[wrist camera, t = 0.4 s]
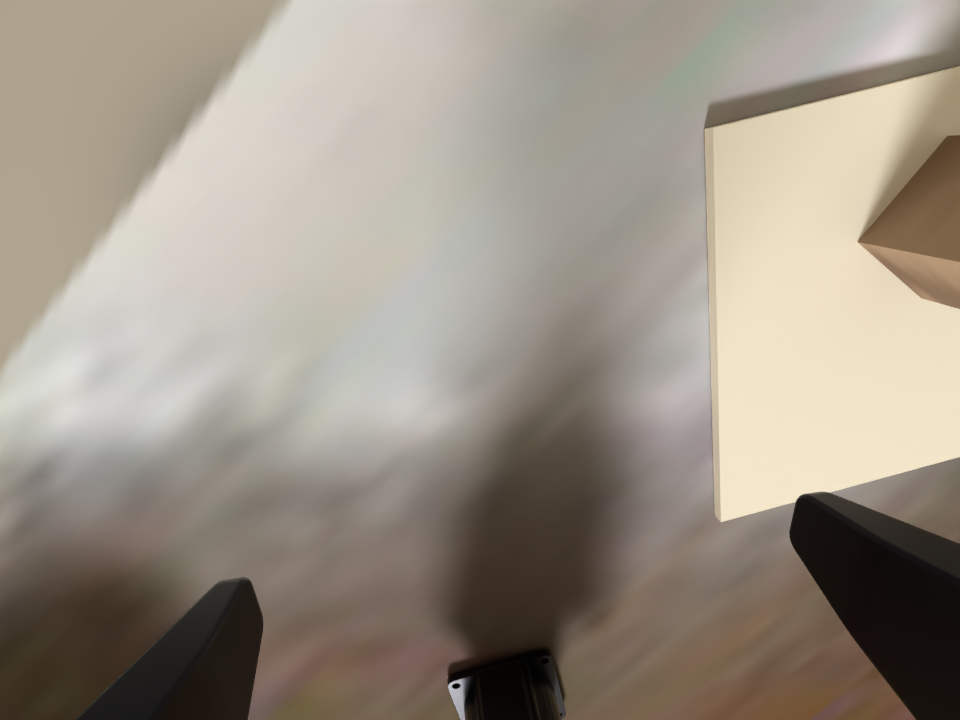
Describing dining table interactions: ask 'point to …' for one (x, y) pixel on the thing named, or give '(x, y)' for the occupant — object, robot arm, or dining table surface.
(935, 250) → the walnut block
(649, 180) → the dining table surface
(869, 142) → the placemat
